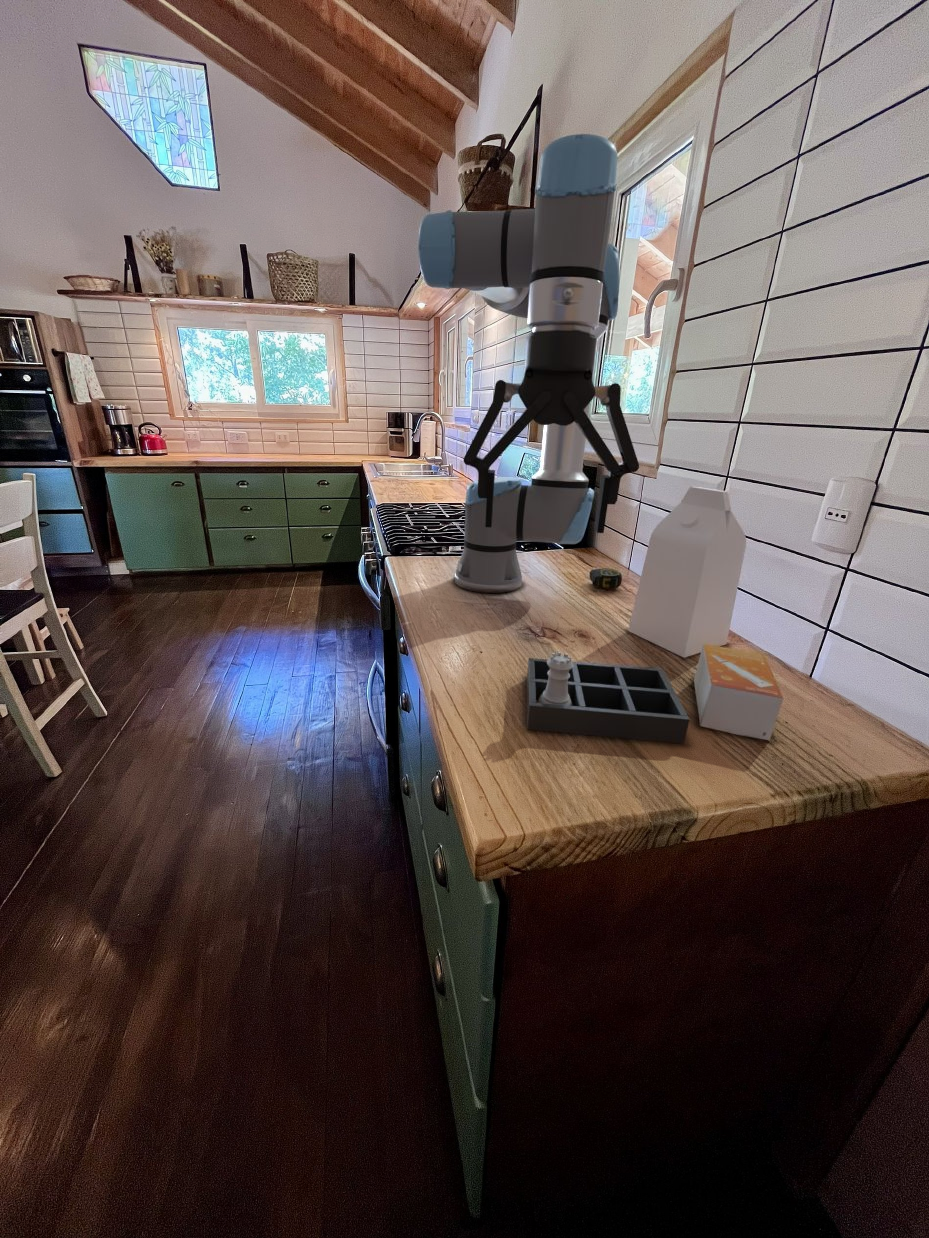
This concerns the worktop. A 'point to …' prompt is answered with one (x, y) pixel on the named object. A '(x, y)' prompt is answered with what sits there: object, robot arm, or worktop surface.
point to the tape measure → (605, 578)
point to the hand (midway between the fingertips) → (543, 528)
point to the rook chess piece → (557, 680)
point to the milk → (690, 575)
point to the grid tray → (609, 703)
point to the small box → (736, 692)
